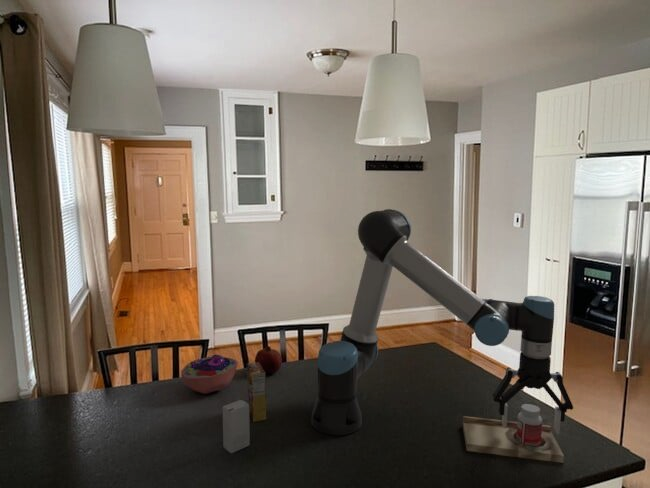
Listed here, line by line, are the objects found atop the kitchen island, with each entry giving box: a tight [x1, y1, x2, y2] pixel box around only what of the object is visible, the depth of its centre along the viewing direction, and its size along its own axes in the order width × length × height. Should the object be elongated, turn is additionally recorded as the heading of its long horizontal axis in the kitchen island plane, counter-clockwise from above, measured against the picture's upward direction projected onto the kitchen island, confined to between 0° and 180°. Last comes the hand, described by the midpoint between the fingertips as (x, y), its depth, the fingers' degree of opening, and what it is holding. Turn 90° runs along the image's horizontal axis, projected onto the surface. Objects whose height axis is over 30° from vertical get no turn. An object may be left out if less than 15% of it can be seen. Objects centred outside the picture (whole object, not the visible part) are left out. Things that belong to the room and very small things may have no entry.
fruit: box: [254, 345, 283, 375], centre depth 171 cm, size 11×10×10 cm
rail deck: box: [462, 415, 565, 464], centre depth 126 cm, size 24×13×3 cm, turn 78°
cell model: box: [180, 354, 239, 395], centre depth 156 cm, size 17×20×11 cm
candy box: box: [246, 361, 267, 423], centre depth 139 cm, size 9×4×15 cm, turn 20°
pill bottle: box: [515, 403, 543, 447], centre depth 124 cm, size 6×6×11 cm
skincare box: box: [221, 399, 251, 454], centre depth 122 cm, size 6×4×12 cm
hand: (529, 428), depth 124 cm, fingers open, 13 cm apart
